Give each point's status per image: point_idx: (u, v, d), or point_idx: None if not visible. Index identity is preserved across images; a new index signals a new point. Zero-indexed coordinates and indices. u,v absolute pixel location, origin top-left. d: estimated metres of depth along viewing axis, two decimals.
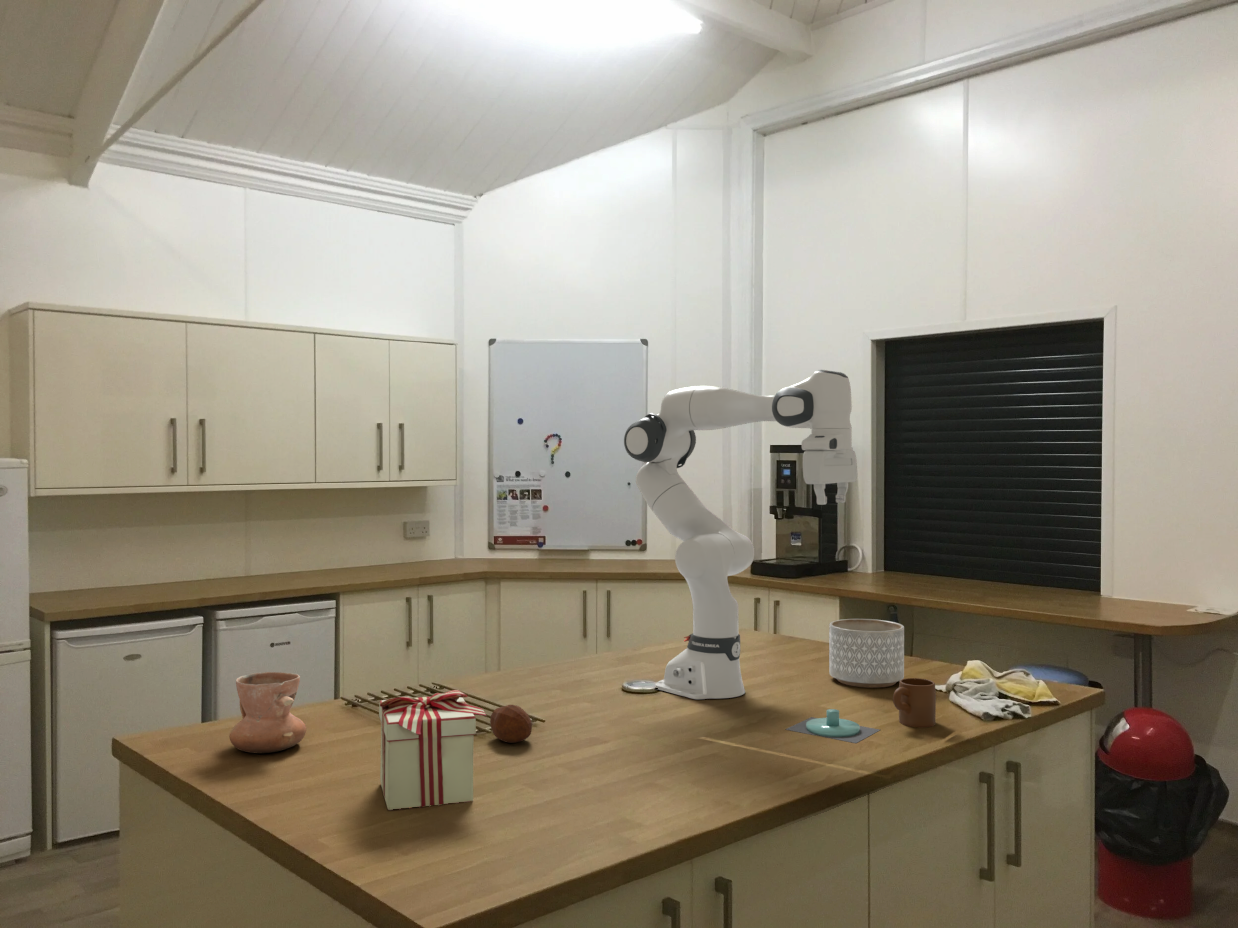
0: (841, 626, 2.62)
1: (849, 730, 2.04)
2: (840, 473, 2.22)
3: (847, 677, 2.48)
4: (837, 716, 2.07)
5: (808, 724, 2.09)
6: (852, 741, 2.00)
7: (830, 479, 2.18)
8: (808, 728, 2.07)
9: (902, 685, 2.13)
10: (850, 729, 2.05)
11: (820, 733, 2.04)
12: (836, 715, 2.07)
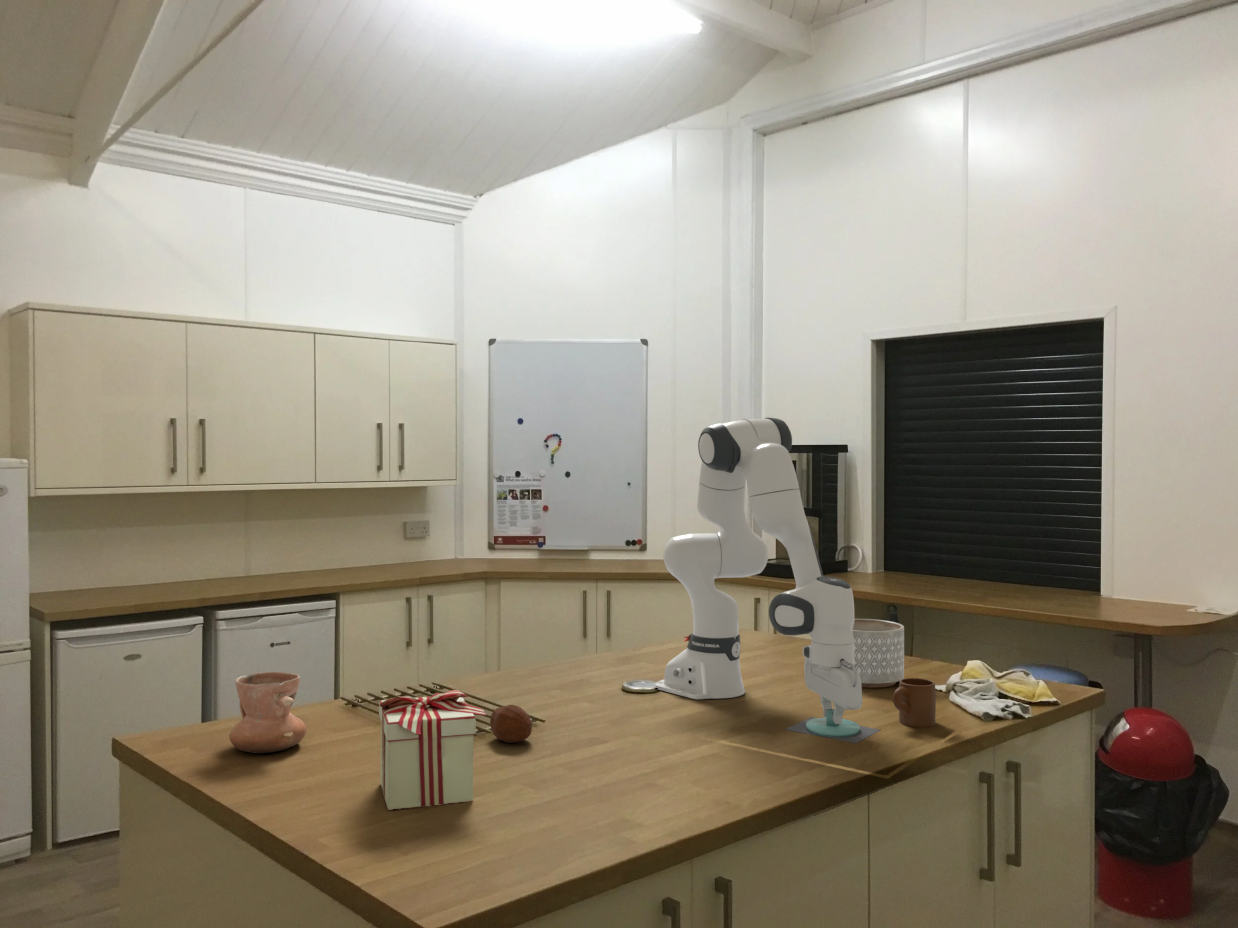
0: None
1: (849, 730, 2.04)
2: (826, 689, 2.07)
3: None
4: None
5: (808, 724, 2.09)
6: (852, 741, 2.00)
7: (815, 689, 2.12)
8: (808, 728, 2.07)
9: (902, 685, 2.13)
10: (850, 729, 2.05)
11: (820, 733, 2.04)
12: None
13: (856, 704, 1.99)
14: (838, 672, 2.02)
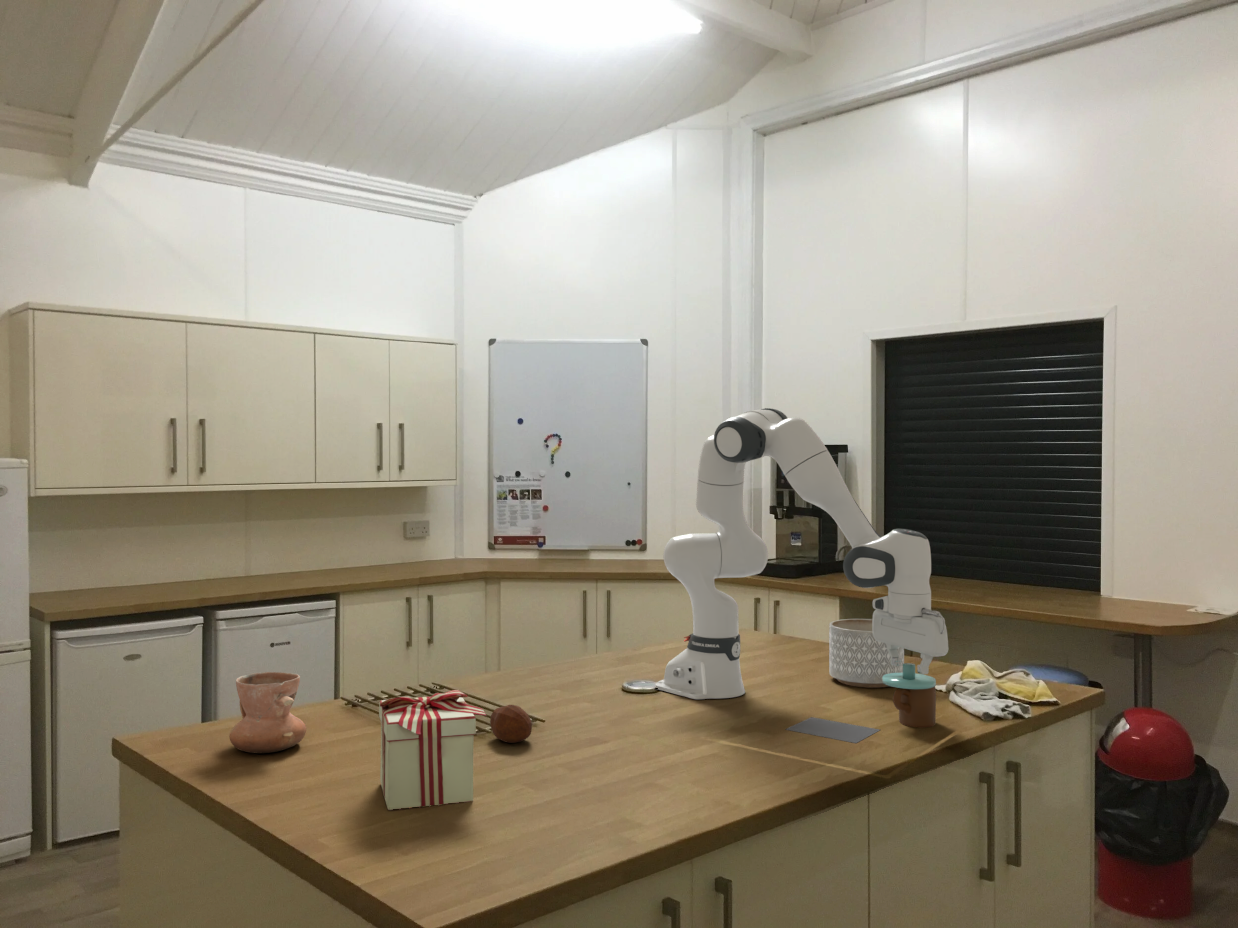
0: (841, 626, 2.62)
1: (929, 682, 2.09)
2: (904, 638, 2.11)
3: (847, 677, 2.48)
4: (914, 669, 2.12)
5: (886, 679, 2.12)
6: (852, 741, 2.00)
7: (889, 641, 2.16)
8: (888, 682, 2.11)
9: None
10: (929, 681, 2.10)
11: (903, 686, 2.08)
12: (913, 668, 2.12)
13: (943, 650, 2.04)
14: (923, 620, 2.06)
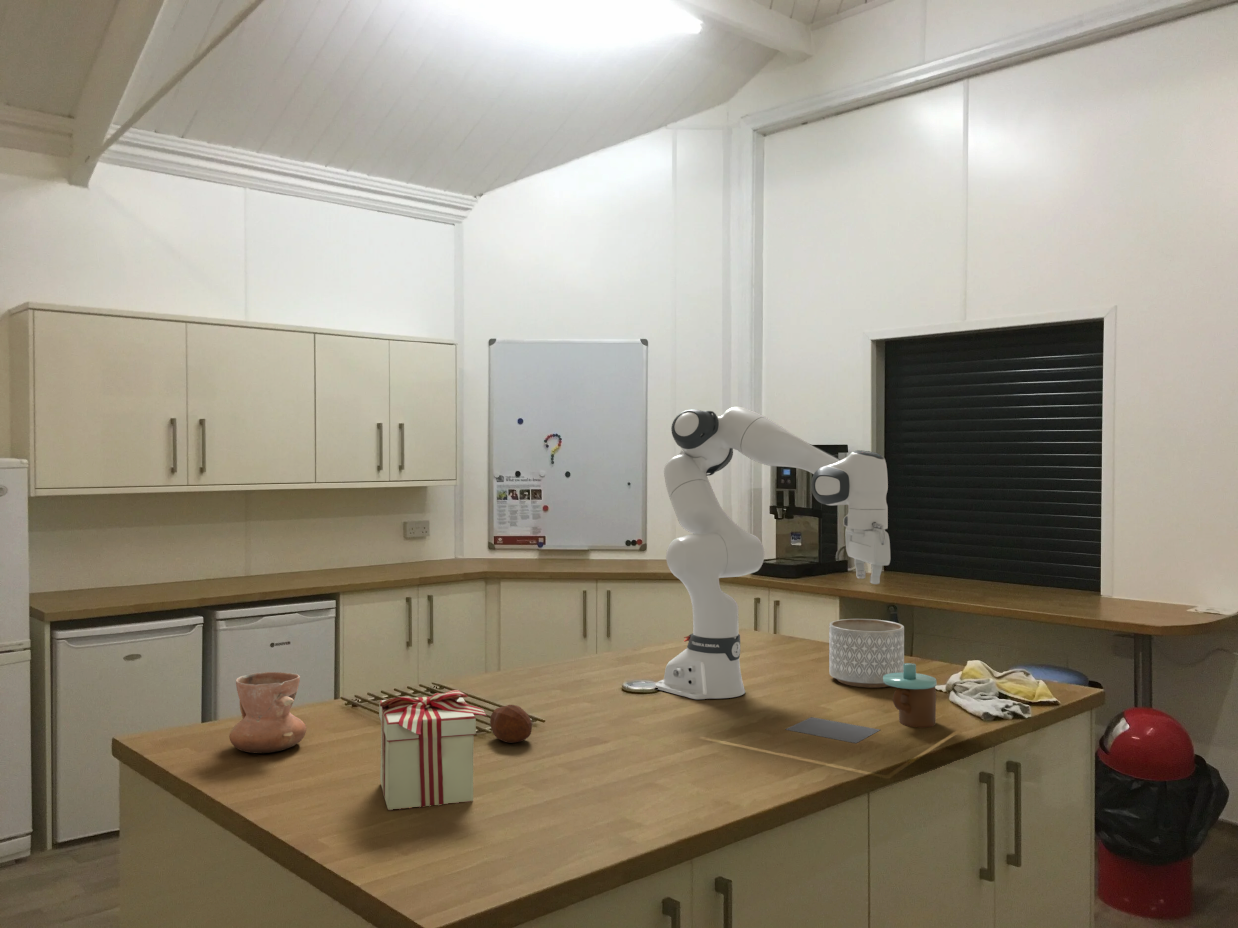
0: (841, 626, 2.62)
1: (930, 682, 2.09)
2: (861, 551, 2.28)
3: (847, 677, 2.48)
4: (915, 669, 2.12)
5: (886, 679, 2.12)
6: (852, 741, 2.00)
7: (854, 555, 2.33)
8: (888, 682, 2.11)
9: None
10: (930, 681, 2.10)
11: (904, 686, 2.08)
12: (914, 668, 2.12)
13: (884, 560, 2.19)
14: (869, 533, 2.22)
